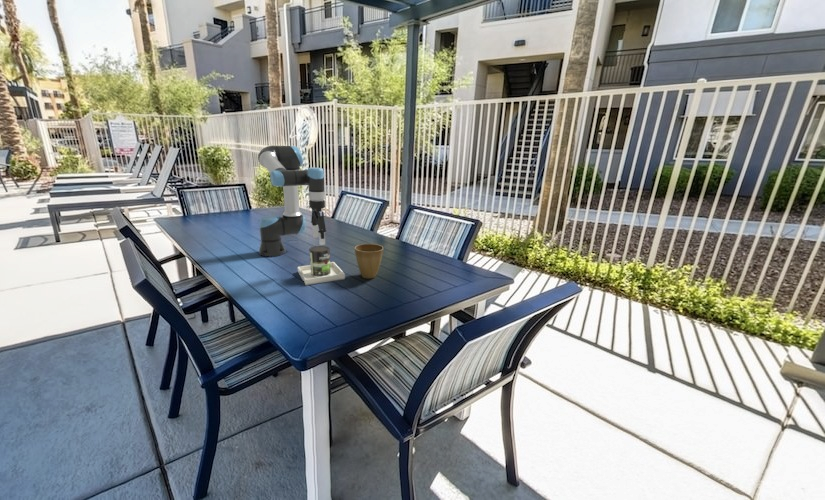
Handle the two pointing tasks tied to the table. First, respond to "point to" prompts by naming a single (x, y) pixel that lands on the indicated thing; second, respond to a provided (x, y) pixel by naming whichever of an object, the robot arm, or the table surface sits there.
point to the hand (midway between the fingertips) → (319, 240)
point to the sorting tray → (309, 280)
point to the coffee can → (320, 261)
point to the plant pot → (368, 259)
